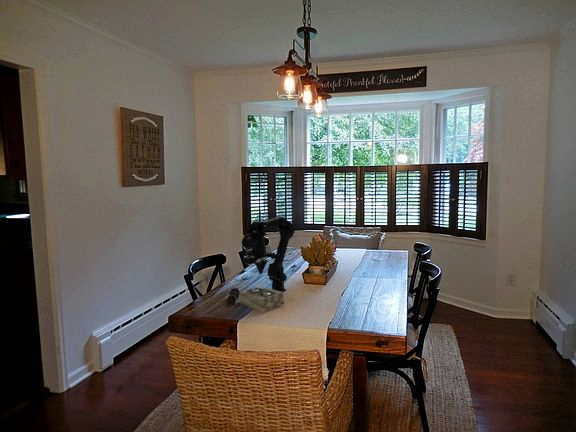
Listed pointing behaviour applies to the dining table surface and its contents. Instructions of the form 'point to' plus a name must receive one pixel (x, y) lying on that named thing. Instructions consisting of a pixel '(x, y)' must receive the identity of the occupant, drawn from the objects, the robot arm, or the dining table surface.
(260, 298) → the jig block
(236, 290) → the bolt
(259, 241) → the robot arm
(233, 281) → the dining table surface
